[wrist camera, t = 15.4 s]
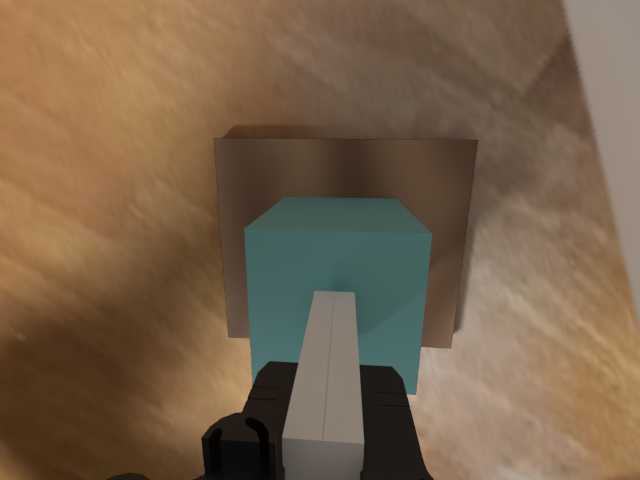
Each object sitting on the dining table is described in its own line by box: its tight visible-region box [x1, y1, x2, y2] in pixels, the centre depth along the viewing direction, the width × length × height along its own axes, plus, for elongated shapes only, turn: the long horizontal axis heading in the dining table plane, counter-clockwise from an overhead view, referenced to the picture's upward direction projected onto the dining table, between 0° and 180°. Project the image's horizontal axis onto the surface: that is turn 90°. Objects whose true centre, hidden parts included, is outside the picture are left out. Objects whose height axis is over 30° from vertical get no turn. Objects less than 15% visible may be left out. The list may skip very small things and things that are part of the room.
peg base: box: [214, 138, 478, 348], centre depth 20 cm, size 16×14×7 cm
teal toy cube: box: [244, 197, 432, 395], centre depth 18 cm, size 7×7×9 cm
